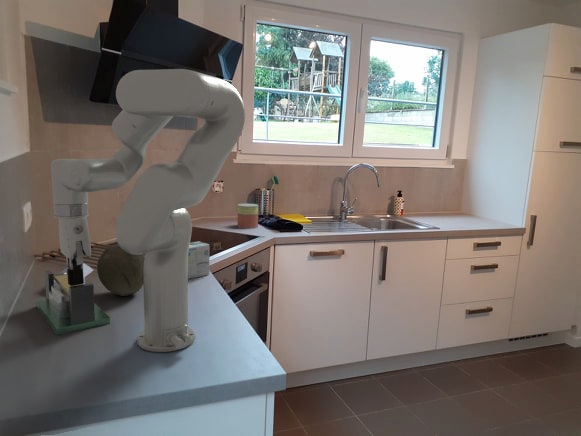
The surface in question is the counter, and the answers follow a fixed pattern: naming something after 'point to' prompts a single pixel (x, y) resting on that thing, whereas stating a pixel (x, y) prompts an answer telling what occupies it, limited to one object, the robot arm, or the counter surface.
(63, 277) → the retention strap
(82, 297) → the cooling block
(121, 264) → the cantaloupe
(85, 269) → the wedge on round base
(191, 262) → the light bulb box
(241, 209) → the canned food
